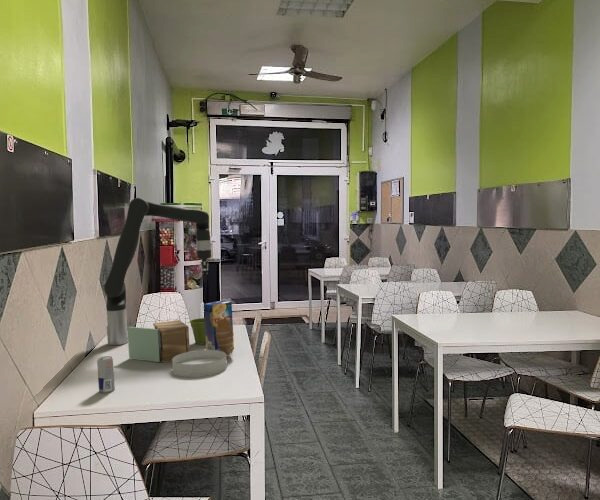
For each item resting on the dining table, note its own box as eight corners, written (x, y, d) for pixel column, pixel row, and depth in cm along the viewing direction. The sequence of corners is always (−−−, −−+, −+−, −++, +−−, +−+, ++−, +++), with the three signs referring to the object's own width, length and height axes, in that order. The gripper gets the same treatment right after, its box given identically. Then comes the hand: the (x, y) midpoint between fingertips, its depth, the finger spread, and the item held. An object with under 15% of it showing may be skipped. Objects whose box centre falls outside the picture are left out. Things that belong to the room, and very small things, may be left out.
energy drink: (101, 388, 187) (99, 356, 186) (116, 387, 187) (114, 355, 186) (97, 393, 181) (94, 360, 181) (112, 392, 182) (110, 359, 181)
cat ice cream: (236, 357, 222) (234, 316, 221) (218, 359, 219) (216, 318, 218) (232, 352, 230) (230, 313, 229) (215, 354, 228) (213, 315, 227)
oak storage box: (155, 353, 235) (153, 323, 234) (181, 349, 240) (179, 319, 239) (162, 362, 219) (160, 330, 218) (190, 357, 224) (188, 326, 223)
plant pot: (212, 338, 260) (211, 316, 259) (216, 343, 248) (215, 320, 248) (189, 341, 256) (187, 319, 255) (191, 346, 245) (190, 323, 244)
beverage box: (234, 348, 238) (231, 301, 236) (215, 353, 230) (212, 305, 228) (224, 346, 242) (222, 300, 241) (206, 351, 234) (203, 304, 233)
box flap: (162, 361, 219) (160, 329, 218) (160, 362, 218) (158, 330, 217) (130, 357, 228) (129, 326, 227) (129, 357, 227) (127, 327, 226)
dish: (179, 380, 193) (179, 367, 193) (166, 366, 213) (165, 355, 212) (235, 370, 203) (234, 358, 203) (217, 358, 223) (217, 347, 222)
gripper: (196, 248, 270) (198, 279, 271) (196, 250, 256) (197, 282, 257) (210, 248, 271) (212, 278, 272) (211, 249, 258) (213, 281, 259)
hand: (205, 280), depth 265 cm, fingers open, 8 cm apart
